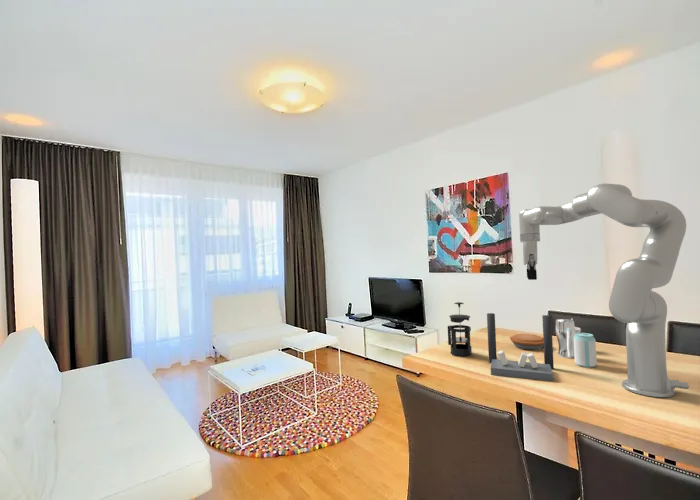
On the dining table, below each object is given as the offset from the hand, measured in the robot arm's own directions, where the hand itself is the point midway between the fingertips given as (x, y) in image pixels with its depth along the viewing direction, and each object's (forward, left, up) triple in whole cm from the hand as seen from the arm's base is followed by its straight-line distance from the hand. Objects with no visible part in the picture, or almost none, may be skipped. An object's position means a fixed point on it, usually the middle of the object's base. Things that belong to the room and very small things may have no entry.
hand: (531, 278), depth 145 cm
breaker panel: (+6, +22, -33) cm, 40 cm away
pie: (+2, -17, -34) cm, 38 cm away
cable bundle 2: (-4, +13, -33) cm, 36 cm away
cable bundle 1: (+16, +13, -33) cm, 39 cm away
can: (-17, +5, -34) cm, 38 cm away
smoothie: (-16, -17, -34) cm, 41 cm away
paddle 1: (+11, +22, -31) cm, 39 cm away
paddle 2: (+1, +22, -31) cm, 38 cm away
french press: (+30, +4, -34) cm, 45 cm away
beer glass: (-12, -6, -34) cm, 36 cm away
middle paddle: (+6, +22, -31) cm, 38 cm away
